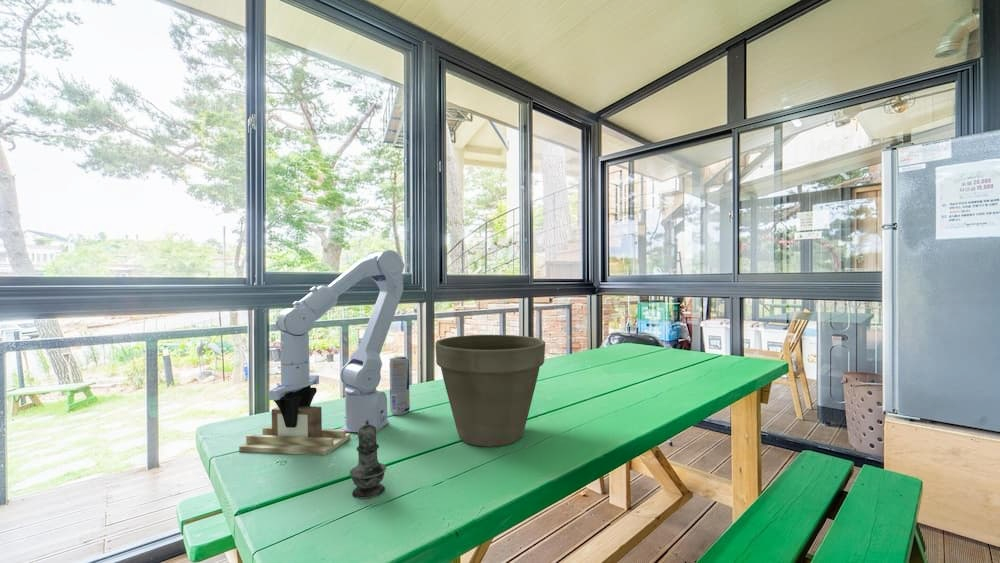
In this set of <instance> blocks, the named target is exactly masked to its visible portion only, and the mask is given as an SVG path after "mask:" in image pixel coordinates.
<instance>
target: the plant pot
mask: <svg viewBox="0 0 1000 563" xmlns="http://www.w3.org/2000/svg"><path fill="white" fill-rule="evenodd" d="M545 354H546V342H545V340H543V339H540V338H537V337H533V336H524V335H514V334H513V335H512V334H511V335H510V334H470V335H469V334H468V335H458V336H456V335H455V336H450V337H449V336H448V337H446V338H441V339H439V340H437V341H436V342H435V358H436V359H435V360H436V361H435V362H436V365H437V366H439V367H440V368H441V375H442V377H443V379H442V380H443V382H444V386H445V390H446V393H447V397H448V402H449V405H450V409H451V412H452V416H453V421H454V424H455V428H456V431H457V434H458V437H459V439H461V441H462V442H464V443H466V444H469V445H472V446H475V447H476V446H478V447H487V448H488V447H493V448H494V447H501V446H508V445H511V444H513V443H516V442H517V441H519V440H520V439H521V438H522V436H523V435H524V432H525V428H526V425H527V421H528V416H529V414H530V409H531V405H532V402H533V398H534V393H535V390H536V384H537V381H538V377H539V372H540V367H542V366H543V365H544V363H545Z"/></svg>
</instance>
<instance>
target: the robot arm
mask: <svg viewBox="0 0 1000 563" xmlns="http://www.w3.org/2000/svg"><path fill="white" fill-rule="evenodd" d="M405 267H406V266H405V263H404V261H403V259H402V257H401V256H400V254H399V253H398V252H397V251H396V250H391V249H387V250H384V251H377V252H376V251H375V252H370V253H367V254H366V256H364V257H361V258H359V259H358V260H357V261H356V262H355V263H353V265H352V266H350V267H349V268H348V269H347V270H345V271H344V272H343V273H342V274H341V275H339V276H338V277H337V278H336V279H335V280H333V281H332V282H331V283H330V284H329V285H318V286H312V287H311V288H309V293H307V295H305V296H303V298H301V299H300V300H299V301H297V300H295V301H294V302H293V303H292V306H293V307H291V308H285V309H284V310H282V311H281V312H280V313H279V315H278V317H277V320H276V321H275V326H276V328H277V329H278V330H279V331H280V345H279V346H280V350H279V351H280V381H278V382H277V383H276V386H275V387H273V388H272V389H269V390H268V401H273V402H274V403H275V404H276V407H279V409H280V411H281V413H282V416H283V419H284V423H285V426H286V427H289V428H294V427H296V425H297V418H298V408H299V406H311V404H312V402H313V400H314V398H315V395H316V394H317V392H318V390H317V387H312V386H313V385H319V384H320V376H319V375H315V374H314V375H312V374H311V375H310V373H311V371H310V370H311V369H310V338H309V336H310V335H309V333H310V331H311V330H312V328H313V326H314V323H315V322H316V321H318V320H319V319H321V317H323V316H324V315H325V314H326V313H327V312H329V311H330V310H332V309H333V308H334V307H335V306H336V305H337V304H338V299H339V296H340V295H342V294H343V293H345V292H346V291H347V290H349V289H350V288H352V287H353V286H354V285H356V284H357V283H359V282H360V281H361V280H362V279H364V278H368V277H370V278H371V279H372V280H373V281H374V283H376V285H377V287H378V290H379V293H378V296H377V298H376V302H375V304H374V307H373V310H372V312H371V315H370V316H369V319H368V323H367V325H366V326H365V331H364V333H363V336H362V338H361V341H360V344H359V346H358V348H357V349H356V350H355V351H354V352H353V353H351V355H350V358H349V360H348V361H347V363H346V364H345V365H344V366H343V367H342V368H341V370H340V374H339V376H340V381H341V383H342V384H343V385H345V389H344V396H345V397H344V401H345V402H344V404H345V407H344V408H345V413H344V414H345V425H343V426H342V427H340V428H339V429H337V430H346V433H359V429H360V428H361V427H362V426H364V425H366V423H365V422H366V421H367V420H368V421H369V424H370V425H373V426H374V427H375V428H376V433H377V432H378V431H380V430H382V428H384V426H386V425H388V424H389V422H390V421H389V420H388V397H387V394H386V392H384V391H380V390H378V389H377V387H378V386H379V385H380V384H381V383H380V382H381V378H382V377H381V370H382V368H383V361H382V359H381V352H382V349H383V347H384V343H385V341H386V339H387V336H388V332H389V331H390V327H391V326H392V322H393V320H394V317H395V314H396V311H397V309H398V306H399V302H400V300H401V298H402V295H403V292H404V279H403V278H404V275H403V272H404V268H405Z"/></svg>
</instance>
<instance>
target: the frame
mask: <svg viewBox="0 0 1000 563" xmlns="http://www.w3.org/2000/svg"><path fill="white" fill-rule="evenodd" d="M322 412H323V411H322V406H314V405H313V406H311V405H310V406H299V408H298V418H297V425H296V427H294V428H289V427H286V426H285V423H284V419H283V416H282V413H281V411H280V409H279V407H278V406H276V407H274V408H272V409H271V427H272V435H274V436H297V437H321V438H322V429H323V428H322V427H323V426H322V424H323V423H322V422H323V420H322V419H323V418H322V417H323V416H322V415H323V414H322Z"/></svg>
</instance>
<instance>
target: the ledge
mask: <svg viewBox="0 0 1000 563" xmlns="http://www.w3.org/2000/svg"><path fill="white" fill-rule="evenodd" d="M245 439H246V440H245V441H246V442H245V443H244V444H241V445H239V446H238V450H239V452H243V453H244V452H245V453H246V452H247V453H249V452H250V453H266V454H267V453H269V454H284V455H285V454H287V455H288V454H289V455H307V456H308V455H309V456H327V455H328V454H330V453H331V452H332V451H335V449H337V448H339V447H340V446H341V445H342V444H344V443H345V442H347V441H349V440H350V439H351V432H346V430H338V429H336V428H335V429H329V428H328V429H327V428H322V438H321V437H297V436H274V435H272V426H264V427H263V428H262V434H247V435H246V436H245Z"/></svg>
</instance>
